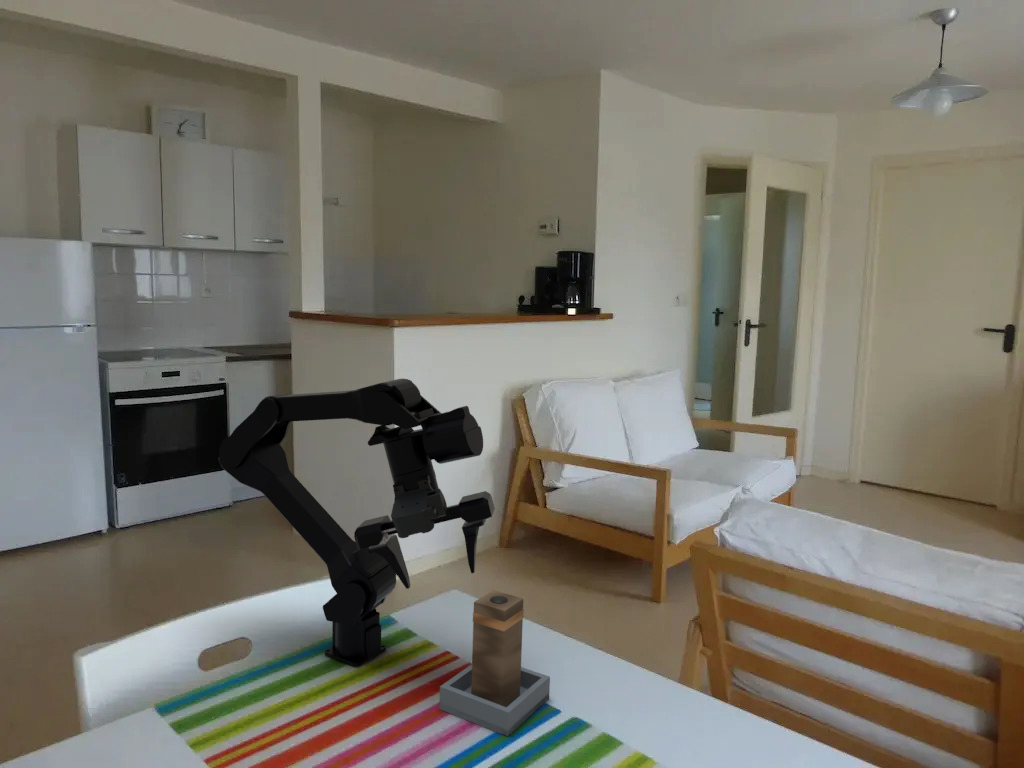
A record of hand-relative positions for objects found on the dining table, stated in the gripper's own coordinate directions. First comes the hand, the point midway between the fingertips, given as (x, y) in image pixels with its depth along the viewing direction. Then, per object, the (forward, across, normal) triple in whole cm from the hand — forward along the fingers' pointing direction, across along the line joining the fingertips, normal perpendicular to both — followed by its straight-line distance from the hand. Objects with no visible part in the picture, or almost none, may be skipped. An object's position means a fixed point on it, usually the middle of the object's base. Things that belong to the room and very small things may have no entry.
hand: (440, 580), depth 102 cm
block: (+14, +5, -7) cm, 17 cm away
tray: (+15, +4, -7) cm, 17 cm away
